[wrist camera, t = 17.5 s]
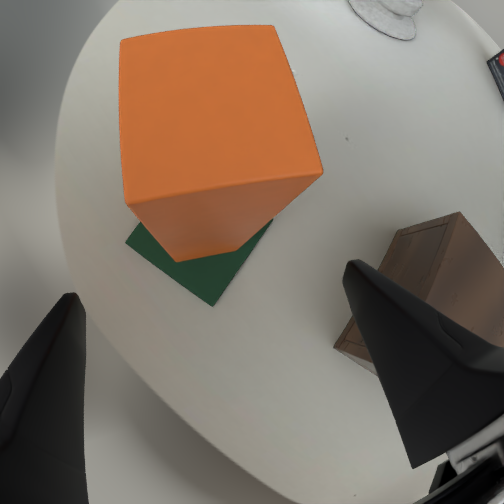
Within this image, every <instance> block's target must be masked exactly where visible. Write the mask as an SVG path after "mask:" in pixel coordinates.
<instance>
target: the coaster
mask: <svg viewBox="0 0 504 504" xmlns="http://www.w3.org/2000/svg"><path fill="white" fill-rule="evenodd" d="M272 221H273V218H272V219H271V220H270V221H269V222H268V223H267V224H266V225H265V226H263V227H262V228H261V229H260V230H259V231H258V232H257V233H256V234H254V235H253V236H252V237H251V238H250V239H249V240H248V241H247V242H245V243H244V244H243V245H242V246H241V247H240V248H239V249H238V250H236V251H233V252H228V253H222V254H217V255H212V256H207V257H202V258H196V259H191V260H186V261H181V262H175V261H174V259H173V258H172V257H171V256H170V255H169V254H168V253H167V252H166V250H165V249H164V248H163V247H162V246H161V245H160V244H159V242H158V241H157V240H156V239H155V238H154V237H153V235H152V234H151V233H150V232H149V231H148V230H147V228H146V227H145V226H144V225H143V224H142V223H141V221H140V223H139V224H138V225H137V227H136V228H135V229H134V231H133V232H132V234H131V235H130V236H129V238H128V239H127V241H126V242H125V243H126V244H127V245H129V246H130V247H131V248H133V249H134V250H135V251H136V252H138V253H139V254H140V255H142V256H143V257H144V258H146V259H147V260H148V261H150V262H151V263H152V264H154V265H155V266H156V267H158V268H159V269H160V270H162V271H163V272H164V273H166V274H167V275H168V276H170V277H171V278H173V279H174V280H175V281H177V282H178V283H179V284H181V285H182V286H184V287H185V288H186V289H188V290H189V291H191V292H192V293H193V294H195V295H196V296H198V297H199V298H201V299H202V300H203V301H205V302H206V303H208V304H209V305H211V306H212V307H213V306H214V304H215V303H216V301H217V300H218V299H219V297H220V296H221V294H222V293H223V291H224V290H225V288H226V287H227V286H228V284H229V283H230V281H231V280H232V278H233V277H234V275H235V274H236V273H237V271H238V270H239V268H240V267H241V265H242V264H243V262H244V261H245V260H246V258H247V257H248V255H249V254H250V252H251V251H252V250H253V248H254V247H255V245H256V244H257V242H258V241H259V239H260V238H261V237H262V235H263V234H264V232H265V231H266V229H267V228H268V226H269V225H270V224H271V222H272Z"/></svg>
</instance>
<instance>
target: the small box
mask: <svg viewBox="0 0 504 504" xmlns="http://www.w3.org/2000/svg"><path fill="white" fill-rule="evenodd" d="M487 64H488V66H489V68H490V70H491V72H492V74H493V76H494V78H495V80H496V83H497V85H498V87H499V90H500V92H501V94H502V97H503V99H504V49H503V50H502V51H500V52H499V53H498V54H496V55H495V56H494V57H492V58H491V59H490V60H488V61H487Z"/></svg>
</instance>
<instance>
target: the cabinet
mask: <svg viewBox="0 0 504 504" xmlns="http://www.w3.org/2000/svg"><path fill="white" fill-rule="evenodd" d="M378 271H379V272H380V273H382V274H384V275H385V276H387V277H388V278H390V279H391V280H393V281H394V282H396V283H398V284H399V285H401V286H402V287H404V288H405V289H407V290H408V291H410V292H411V293H413V294H414V295H416V296H417V297H419V298H420V299H422V300H423V301H425V302H426V303H428V304H429V305H431V306H432V307H434V308H435V309H437V311H440V312H441V313H443V314H444V315H446V316H447V317H449V318H450V319H452V320H453V321H455V322H456V323H458V324H459V325H461V326H463V327H464V328H466V329H468V330H469V331H471V332H473V333H474V334H476V335H478V336H479V337H481V338H483V339H484V340H486V341H488V342H489V343H491V344H493V345H496V346H499V347H504V268H503V266H502V265H501V264H500V262H499V261H498V259H497V258H496V257H495V255H494V254H493V252H492V251H491V250H490V248H489V247H488V246H487V244H486V243H485V242H484V241H483V239H482V238H481V237H480V235H479V234H478V233H477V232H476V230H475V229H474V228H473V227H472V226H471V224H470V223H469V222H468V221H467V219H466V218H465V217H464V216H463V215H462V214H461V212H456V213H453V214H450V215H447V216H443V217H440V218H437V219H433V220H430V221H427V222H423V223H420V224H417V225H413V226H410V227H407V228H404V229H400V230H398V231H397V233H396V235H395V237H394V239H393V241H392V243H391V245H390V247H389V249H388V251H387V253H386V255H385V257H384V259H383V261H382V263H381V265H380V267H379V269H378ZM334 348H335V349H336V350H338V351H339V352H341V353H342V354H344V355H345V356H347V357H349V358H350V359H352V360H353V361H355V362H356V363H358V364H359V365H361V366H363V367H364V368H366V369H367V370H369V371H370V372H372V373H374V374H375V375H377V372H376V370H375V367H374V365H373V362H372V360H371V358H370V355H369V353H368V350H367V348H366V346H365V343H364V341H363V339H362V336H361V334H360V332H359V330H358V327H357V325H356V322H355V320H354V317H353V316H352V318H351V319H350V321H349V323H348V324H347V326H346V328H345V329H344V331H343V333H342V334H341V336H340V337H339V339H338V341H337V342H336V344H335V346H334ZM377 376H378V375H377Z"/></svg>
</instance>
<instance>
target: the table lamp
mask: <svg viewBox="0 0 504 504" xmlns="http://www.w3.org/2000/svg"><path fill="white" fill-rule="evenodd" d="M349 3H350V4H351V6H352V8H353V9H354V11H355V12H356V13H357V14H358V15H359V16H360V17H361V18H362V19H363V20H364V21H365V22H367V23H368V24H370V25H371V26H373V27H374V28H376V29H377V30H379V31H381V32H383V33H385V34H387V35H389V36H391V37H394V38H398V39H404V40H409V39H413V38H414V37H415V35H416V27H415V24H414V22H413V20H412V18H411V16H414V15H415V14H416V13H417V12H418V10H419V9H420V8H421V7H422V6H423V1H422V0H349Z"/></svg>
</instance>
